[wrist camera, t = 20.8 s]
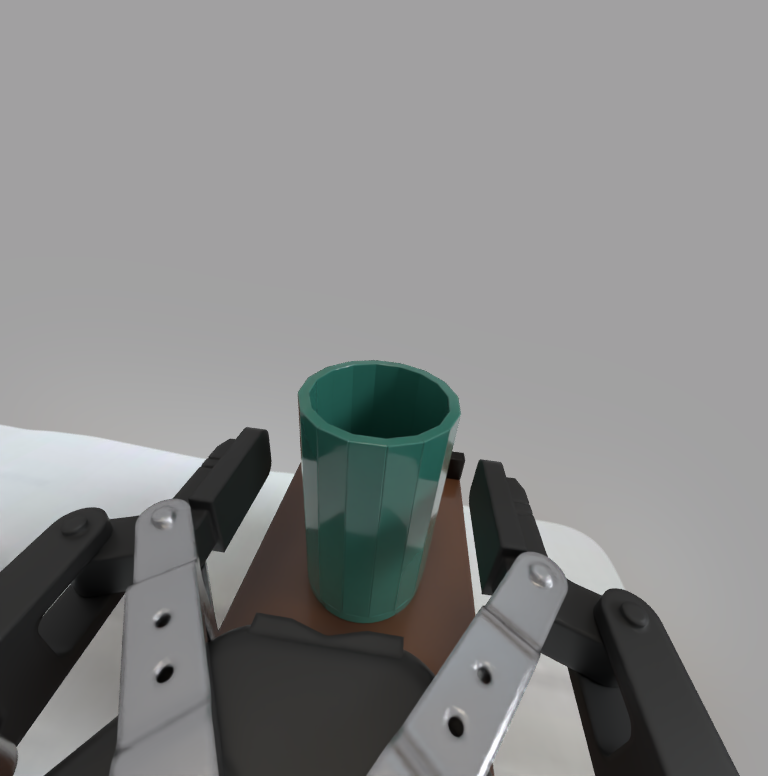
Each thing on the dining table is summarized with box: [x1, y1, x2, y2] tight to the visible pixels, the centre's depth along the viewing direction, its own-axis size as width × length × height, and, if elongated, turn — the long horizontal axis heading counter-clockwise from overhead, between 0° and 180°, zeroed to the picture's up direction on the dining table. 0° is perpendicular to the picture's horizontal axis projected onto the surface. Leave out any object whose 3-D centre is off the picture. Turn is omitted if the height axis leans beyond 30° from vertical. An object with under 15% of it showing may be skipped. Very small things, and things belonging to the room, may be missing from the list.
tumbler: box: [298, 360, 461, 623], centre depth 15 cm, size 6×6×10 cm
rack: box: [218, 452, 494, 776], centre depth 20 cm, size 11×15×14 cm
